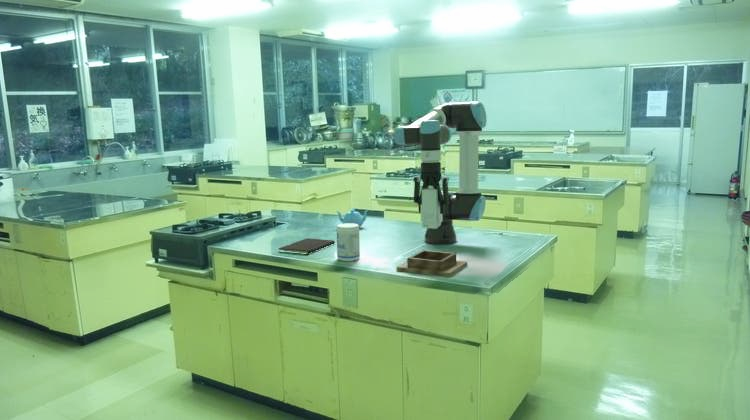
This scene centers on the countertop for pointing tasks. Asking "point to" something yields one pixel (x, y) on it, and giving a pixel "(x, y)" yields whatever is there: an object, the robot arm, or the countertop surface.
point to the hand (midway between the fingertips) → (431, 221)
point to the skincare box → (430, 208)
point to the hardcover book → (307, 245)
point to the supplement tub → (348, 242)
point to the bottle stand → (433, 263)
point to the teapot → (353, 217)
